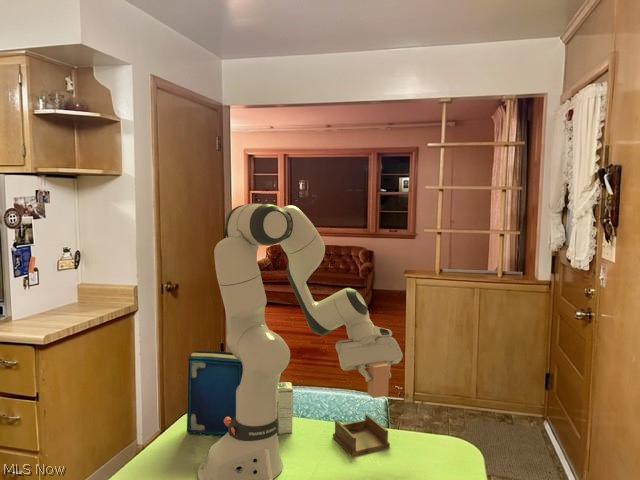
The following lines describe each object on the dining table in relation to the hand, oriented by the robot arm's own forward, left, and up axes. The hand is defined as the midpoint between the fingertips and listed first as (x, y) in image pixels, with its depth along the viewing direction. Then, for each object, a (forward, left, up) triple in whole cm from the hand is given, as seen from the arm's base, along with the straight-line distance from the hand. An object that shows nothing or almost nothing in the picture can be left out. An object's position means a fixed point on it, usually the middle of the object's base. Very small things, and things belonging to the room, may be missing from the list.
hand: (379, 379), depth 131 cm
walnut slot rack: (-3, +6, -21) cm, 22 cm away
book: (-40, +29, -21) cm, 53 cm away
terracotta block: (0, +1, -5) cm, 5 cm away
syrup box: (-22, +23, -21) cm, 38 cm away
